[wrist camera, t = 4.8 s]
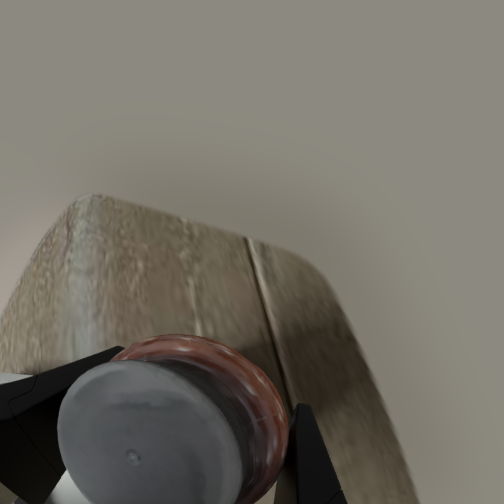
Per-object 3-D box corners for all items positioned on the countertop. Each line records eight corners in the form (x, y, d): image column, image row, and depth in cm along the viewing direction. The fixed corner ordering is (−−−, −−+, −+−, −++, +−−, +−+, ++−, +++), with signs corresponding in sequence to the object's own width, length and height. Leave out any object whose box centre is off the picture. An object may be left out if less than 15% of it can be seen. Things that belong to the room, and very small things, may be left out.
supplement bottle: (156, 379, 15) (2, 355, 5) (248, 337, 16) (205, 250, 5) (202, 469, 12) (100, 571, 2) (298, 428, 13) (356, 518, 3)
